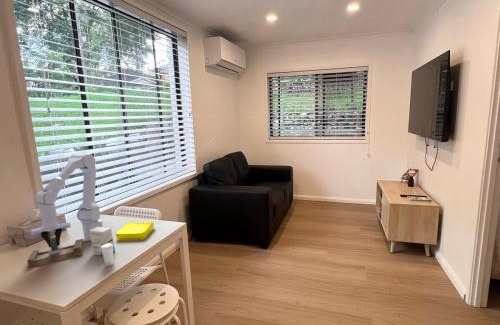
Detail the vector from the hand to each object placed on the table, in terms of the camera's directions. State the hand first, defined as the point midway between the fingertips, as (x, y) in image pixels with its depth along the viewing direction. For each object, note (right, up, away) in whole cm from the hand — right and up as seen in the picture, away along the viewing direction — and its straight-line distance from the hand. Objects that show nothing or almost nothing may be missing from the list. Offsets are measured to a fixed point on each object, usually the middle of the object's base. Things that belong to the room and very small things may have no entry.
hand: (54, 245), depth 128 cm
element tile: (+29, -1, +21) cm, 36 cm away
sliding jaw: (0, -3, +1) cm, 4 cm away
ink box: (+21, -4, +2) cm, 22 cm away
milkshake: (+29, -6, -9) cm, 31 cm away
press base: (+1, -5, +1) cm, 5 cm away
